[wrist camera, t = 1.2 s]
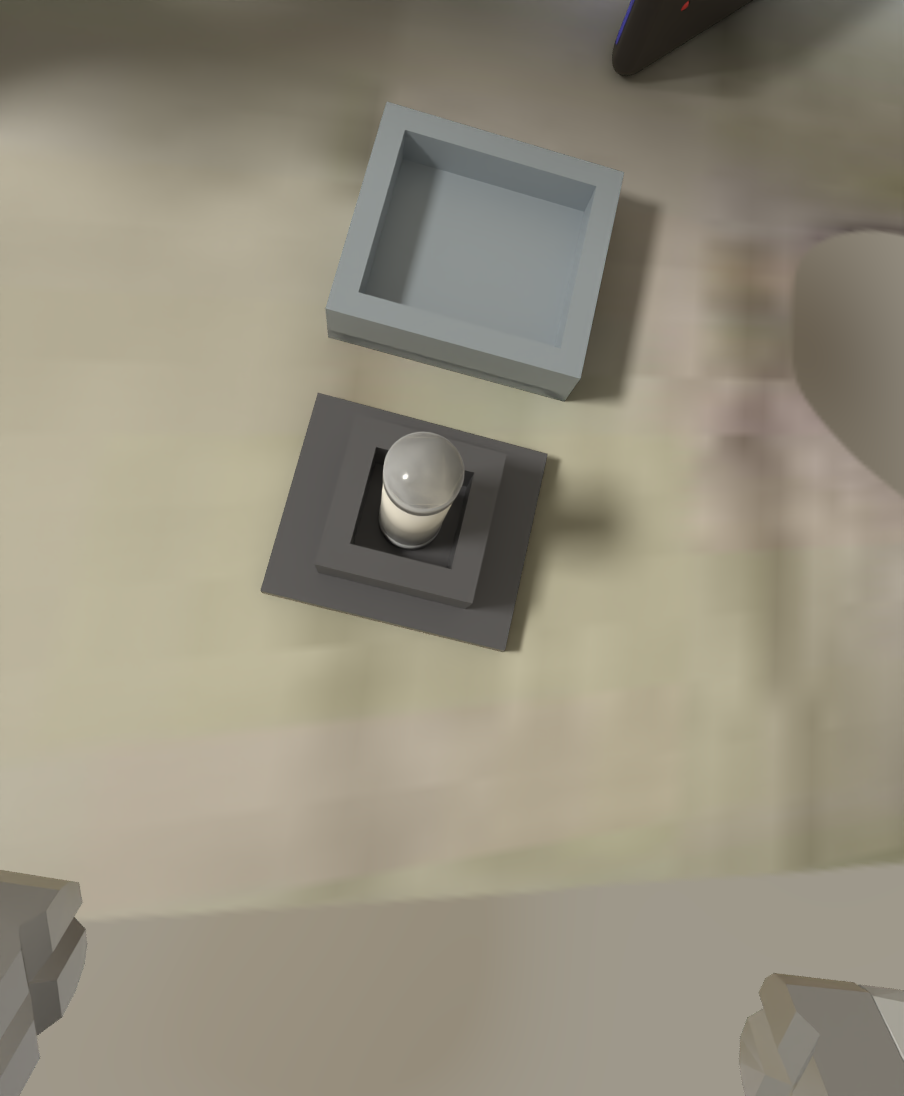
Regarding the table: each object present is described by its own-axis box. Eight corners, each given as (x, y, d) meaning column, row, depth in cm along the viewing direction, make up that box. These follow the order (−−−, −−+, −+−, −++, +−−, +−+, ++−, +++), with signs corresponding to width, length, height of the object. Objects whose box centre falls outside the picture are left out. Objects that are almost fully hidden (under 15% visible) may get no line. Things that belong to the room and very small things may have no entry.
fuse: (371, 541, 42) (374, 498, 32) (386, 482, 43) (394, 422, 33) (432, 557, 42) (454, 519, 33) (447, 498, 43) (472, 443, 33)
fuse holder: (262, 593, 42) (252, 583, 38) (318, 399, 44) (314, 371, 40) (501, 651, 43) (515, 648, 39) (543, 459, 45) (560, 437, 41)
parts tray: (328, 337, 45) (325, 308, 42) (384, 143, 48) (386, 101, 45) (564, 401, 46) (580, 378, 43) (605, 207, 49) (624, 172, 46)
